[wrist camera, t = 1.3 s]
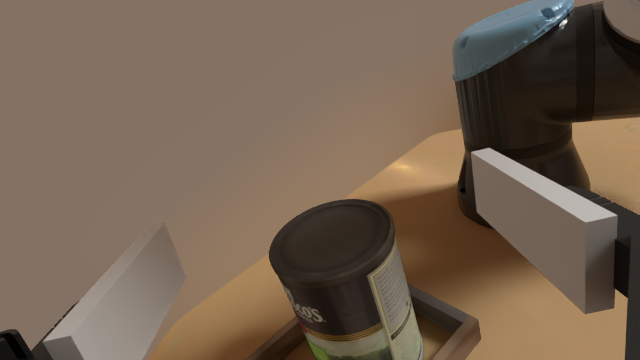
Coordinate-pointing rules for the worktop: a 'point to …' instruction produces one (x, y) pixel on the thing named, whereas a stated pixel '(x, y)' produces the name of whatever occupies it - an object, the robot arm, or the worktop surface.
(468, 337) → the wooden serving tray
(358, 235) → the coffee can
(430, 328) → the worktop surface
